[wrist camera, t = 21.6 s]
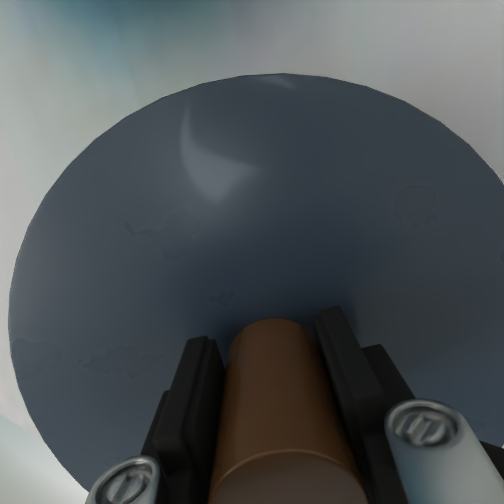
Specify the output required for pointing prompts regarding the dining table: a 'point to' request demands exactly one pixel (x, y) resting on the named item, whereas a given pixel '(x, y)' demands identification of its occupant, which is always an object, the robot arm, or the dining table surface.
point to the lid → (259, 277)
